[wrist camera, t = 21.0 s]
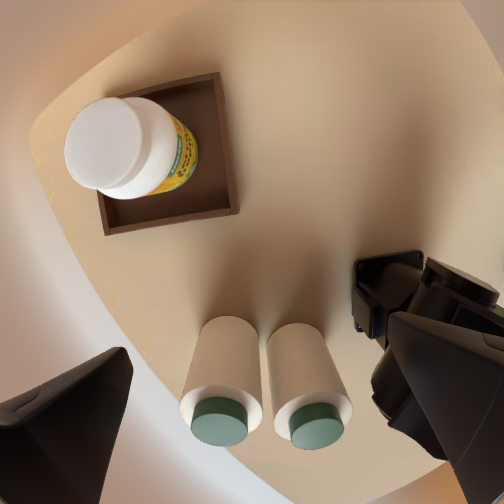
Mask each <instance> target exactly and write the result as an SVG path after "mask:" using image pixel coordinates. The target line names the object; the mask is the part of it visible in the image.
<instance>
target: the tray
mask: <svg viewBox="0 0 504 504" xmlns="http://www.w3.org/2000/svg"><path fill="white" fill-rule="evenodd" d="M130 97H138V98H144V99H148V100H150V101H153V102H155V103H156V104H158V105H160V106H161V107H162V108H164V109H165V110H166V111H168V112H169V113H170V114H171V115H172V116H174V117H175V118H176V119H177V120H178V121H180V122H181V123H182V124H183V125H185V126H186V127H187V128H188V129H189V130H190V132H191V133H192V134H193V136H194V138H195V140H196V143H197V148H198V160H197V164H196V167H195V169H194V171H193V173H192V174H191V176H190V177H189V178H188V179H187V180H186V181H185V182H184V183H183V184H182V185H181V186H179V187H178V188H176V189H174V190H171V191H167V192H163V193H158V194H152V195H147V196H142V197H138V198H134V199H116V198H112V197H109V196H107V195H105V194H103V193H101V192H100V191H99V190H97V195H98V201H99V207H100V213H101V219H102V224H103V229H104V234H105V236H108V235H113V234H119V233H124V232H130V231H135V230H141V229H146V228H152V227H158V226H164V225H170V224H176V223H182V222H188V221H195V220H201V219H208V218H215V217H221V216H228V215H231V214H232V215H235V214H239V211H240V209H239V202H238V195H237V188H236V181H235V173H234V166H233V159H232V152H231V145H230V137H229V130H228V123H227V115H226V108H225V101H224V93H223V86H222V80H221V76H220V73H219V72H216V73H211V74H205V75H200V76H194V77H189V78H185V79H180V80H176V81H171V82H167V83H163V84H159V85H156V86H152V87H148V88H145V89H141V90H138V91H134V92H131V93H128V94H125V95H122V96H119V97H116V98H119V99H124V98H130Z"/></svg>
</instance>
